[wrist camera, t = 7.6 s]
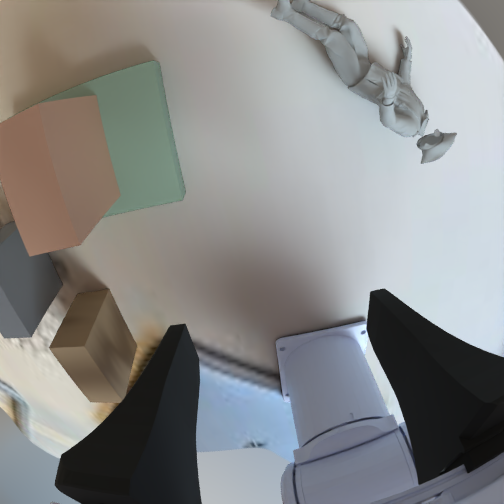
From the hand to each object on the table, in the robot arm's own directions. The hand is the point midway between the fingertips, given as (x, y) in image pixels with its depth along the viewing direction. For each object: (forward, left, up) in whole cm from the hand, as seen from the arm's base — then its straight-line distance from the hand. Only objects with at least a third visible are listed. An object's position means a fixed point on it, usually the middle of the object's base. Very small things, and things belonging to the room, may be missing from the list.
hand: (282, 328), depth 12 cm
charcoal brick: (+1, +17, -10) cm, 20 cm away
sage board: (+7, +9, -9) cm, 15 cm away
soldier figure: (+9, -7, -10) cm, 15 cm away
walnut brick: (-6, +13, -10) cm, 17 cm away
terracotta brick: (+7, +9, -8) cm, 14 cm away
